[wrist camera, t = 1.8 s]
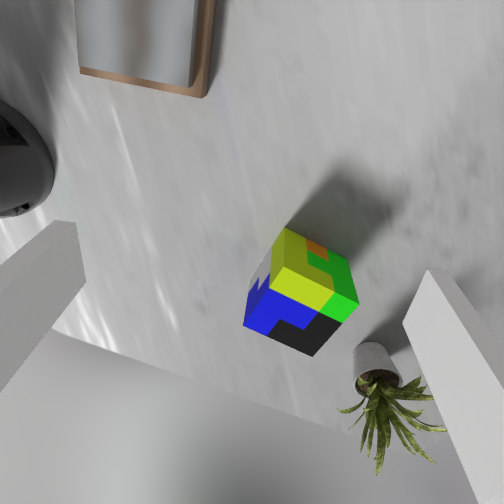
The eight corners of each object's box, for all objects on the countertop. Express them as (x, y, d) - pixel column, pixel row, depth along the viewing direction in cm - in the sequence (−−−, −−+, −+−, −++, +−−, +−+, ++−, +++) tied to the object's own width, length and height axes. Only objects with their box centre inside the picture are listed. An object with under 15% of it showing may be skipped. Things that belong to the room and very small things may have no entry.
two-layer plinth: (93, 72, 39) (69, 74, 35) (86, -81, 33) (55, -101, 29) (206, 95, 40) (196, 100, 35) (221, -53, 33) (211, -68, 29)
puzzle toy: (250, 279, 52) (243, 325, 43) (284, 226, 47) (283, 266, 38) (308, 307, 53) (312, 356, 45) (346, 259, 49) (359, 304, 40)
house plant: (407, 390, 60) (443, 494, 46) (325, 385, 62) (337, 485, 48) (425, 327, 53) (474, 427, 39) (333, 324, 54) (348, 419, 40)
